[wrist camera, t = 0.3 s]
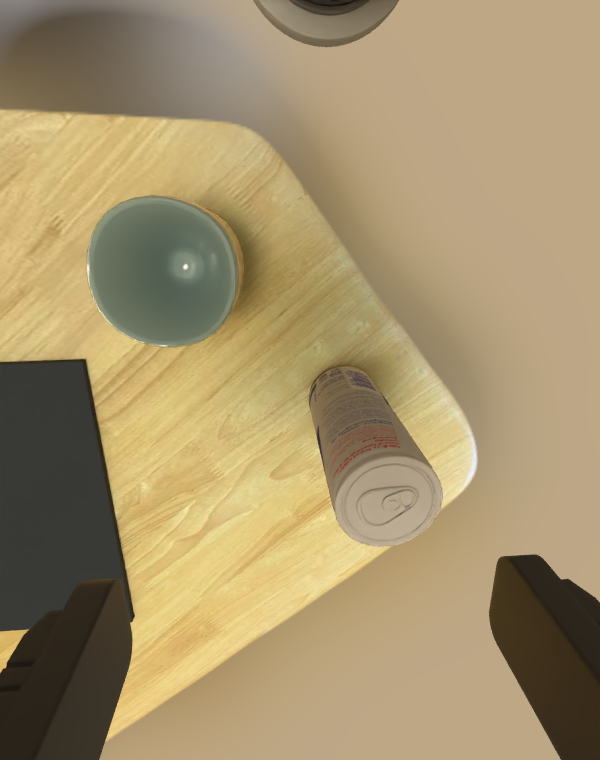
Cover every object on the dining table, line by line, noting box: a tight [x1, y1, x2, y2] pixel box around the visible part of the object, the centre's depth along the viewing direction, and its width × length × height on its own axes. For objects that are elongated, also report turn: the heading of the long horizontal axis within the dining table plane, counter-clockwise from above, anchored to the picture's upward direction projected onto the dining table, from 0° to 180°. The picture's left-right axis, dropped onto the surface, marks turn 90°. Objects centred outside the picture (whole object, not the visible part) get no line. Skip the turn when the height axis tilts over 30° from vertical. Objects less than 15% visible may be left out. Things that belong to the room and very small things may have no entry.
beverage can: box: [309, 366, 443, 547], centre depth 29 cm, size 6×6×15 cm
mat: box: [0, 360, 134, 631], centre depth 37 cm, size 26×18×1 cm
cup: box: [86, 195, 244, 348], centre depth 27 cm, size 8×8×10 cm
